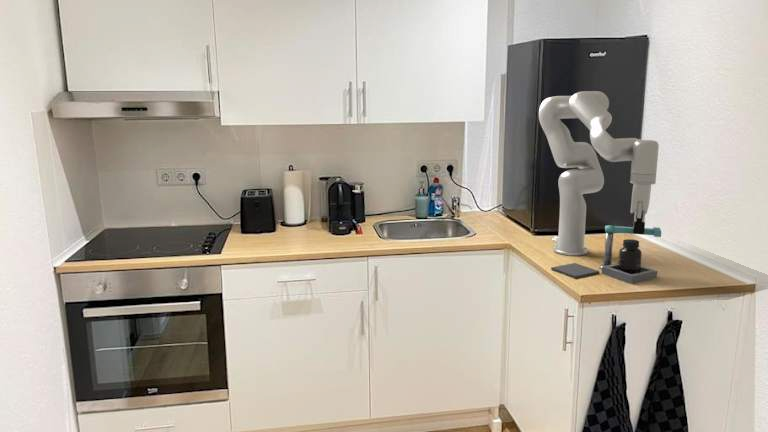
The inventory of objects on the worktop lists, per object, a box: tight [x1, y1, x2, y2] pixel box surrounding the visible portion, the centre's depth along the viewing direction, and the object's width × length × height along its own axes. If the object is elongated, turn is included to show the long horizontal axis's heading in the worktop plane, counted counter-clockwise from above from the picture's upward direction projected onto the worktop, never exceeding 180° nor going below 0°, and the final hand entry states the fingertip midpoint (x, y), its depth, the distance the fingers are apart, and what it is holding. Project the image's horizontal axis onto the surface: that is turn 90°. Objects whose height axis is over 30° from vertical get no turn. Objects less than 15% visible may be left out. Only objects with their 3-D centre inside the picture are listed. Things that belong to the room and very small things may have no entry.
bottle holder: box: [601, 262, 658, 285], centre depth 187 cm, size 12×12×2 cm
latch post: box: [598, 232, 614, 271], centre depth 194 cm, size 5×5×13 cm
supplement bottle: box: [618, 238, 643, 274], centre depth 186 cm, size 7×7×12 cm
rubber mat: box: [550, 262, 600, 279], centre depth 192 cm, size 11×11×1 cm
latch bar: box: [604, 224, 662, 238], centre depth 190 cm, size 17×6×2 cm, turn 69°
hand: (638, 233), depth 187 cm, fingers closed
